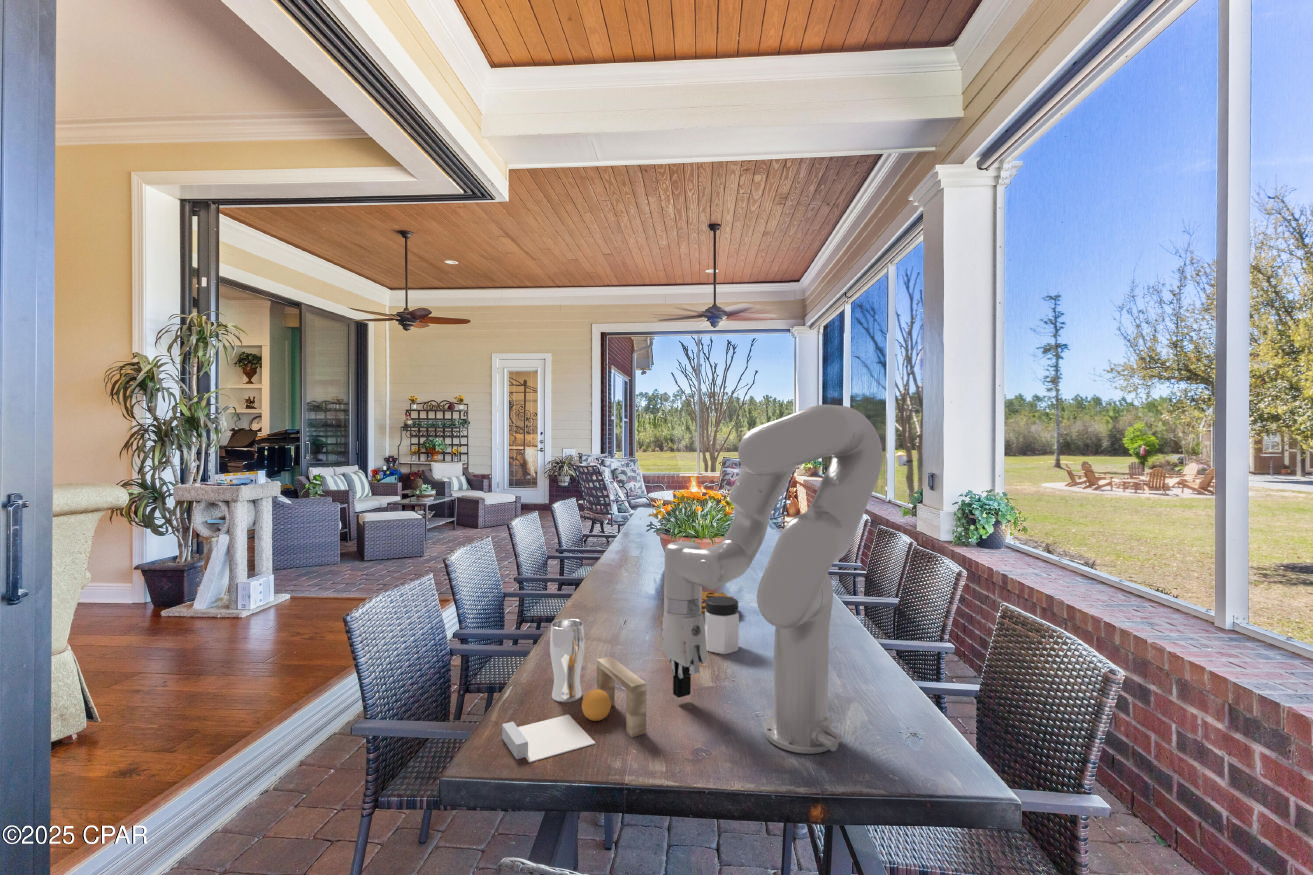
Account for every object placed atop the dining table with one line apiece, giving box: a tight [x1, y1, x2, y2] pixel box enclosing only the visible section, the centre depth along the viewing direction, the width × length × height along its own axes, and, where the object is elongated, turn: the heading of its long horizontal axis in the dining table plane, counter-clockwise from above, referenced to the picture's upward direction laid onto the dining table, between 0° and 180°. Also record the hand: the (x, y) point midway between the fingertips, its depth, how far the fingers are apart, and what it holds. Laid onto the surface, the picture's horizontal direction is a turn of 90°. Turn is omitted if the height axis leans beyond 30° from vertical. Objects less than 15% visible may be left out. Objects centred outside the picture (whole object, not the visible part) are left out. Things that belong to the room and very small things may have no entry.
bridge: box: [596, 656, 647, 739], centre depth 116 cm, size 3×14×9 cm, turn 31°
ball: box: [581, 688, 612, 722], centre depth 116 cm, size 6×6×6 cm
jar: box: [704, 596, 740, 655], centre depth 154 cm, size 9×8×12 cm
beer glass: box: [549, 618, 585, 703], centre depth 126 cm, size 7×7×15 cm
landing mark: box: [517, 714, 596, 764], centre depth 109 cm, size 12×12×1 cm
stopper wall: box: [501, 721, 528, 760], centre depth 106 cm, size 8×2×2 cm, turn 31°
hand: (681, 694), depth 124 cm, fingers closed
